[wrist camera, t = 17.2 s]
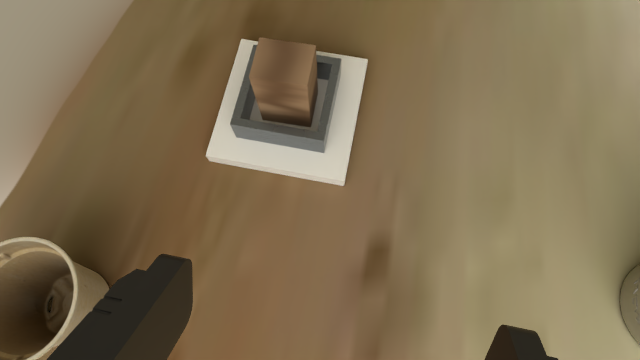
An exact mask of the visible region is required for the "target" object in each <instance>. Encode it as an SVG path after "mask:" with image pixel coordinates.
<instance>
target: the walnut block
mask: <svg viewBox="0 0 640 360" xmlns="http://www.w3.org/2000/svg"><path fill="white" fill-rule="evenodd" d="M249 79H250V82H251V85H252V88H253V91H254V95H255V98H256V101H257V104H258V107H259V110H260V113H261V116H262V119H263V120H267V121H273V122H279V123H286V124H292V125H298V126H305V127H311V124H312V119H313V115H314V110H315V105H316V100H317V95H318V82H317V58H316V45H310V44H303V43H296V42H289V41H282V40H275V39H268V38H261V37H259V41H258V44H257V48H256V52H255V55H254V59H253V63H252V67H251V70H250V74H249Z"/></svg>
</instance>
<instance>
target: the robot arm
mask: <svg viewBox="0 0 640 360" xmlns="http://www.w3.org/2000/svg"><path fill="white" fill-rule="evenodd" d="M192 304H193V292H192V262H191V260H190V259H186V258H181V257H176V256H171V255H167V254H161V255H159V256H158V257H157V258H156V260H155V261H154V262H153V263H152V264H151V266H150V267H149V268H148V269H147V270H146V271H144V270H139V269H136V270H134V271H133V272H131V273H129V274H127V275H126V276H124V277H122V278H121V279H119V280H117V282H116V283H115V284H114V285H113V286H112V287H111V288H110V289H109V290H108V292H107V293H106V294H105V295H104V298H103V299H100V301H99V302H98V303H97V304H96V305H95V306H94V307H93V310H92V311H91V312H89V313H88V314H87V315H86V316H85V317H84V318H83V320H82V321H81V322H80V323H79V324H78V325H77V326H76V327H75V328H74V330H73V331H72V332H71V333H70V334H69V335H68V336H67V337H66V339H65V340H64V341H63V342H62V343H61V344H60V345H59V346H58V347H57V349H56V350H55V351H54V352H53V353H52V354H51V355H50V356H49V358H48V359H47V360H167V358H168V356H169V355H170V353H171V351H172V350H173V348H174V346H175V344H176V343H177V341H178V339H179V338H180V336H181V334H182V332H183V331H184V329H185V327H186V325H187V323H188V321H189V318H190V315H191V311H192ZM620 305H621V312H622V315H623V318H624V322H625V324H626V326H627V328H628V330H629V331H630V333H631V335H632V336H633V337H634V339H635V340H636V341H637V342H638V344H639V345H640V265H638V266H636V267H635V268H634V269H633V270H632V271H631V272H630V273H629V274H628V275H627V277H626V279H625V280H624V282H623V285H622V288H621V294H620ZM485 360H558V359H557V358H554V357H549V356H547V355H546V352H545V350H544V348H543V345H542V343H541V340H540V338H539V336H538V334H537V333H536V332H535V331H532V330H527V329H522V328H517V327H513V326H508V325H501V326H500V327H499V329H498V331H497V333H496V335H495V337H494V340H493V342H492V344H491V346H490V349H489V351H488V353H487V355H486V358H485Z"/></svg>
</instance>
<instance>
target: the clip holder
mask: <svg viewBox="0 0 640 360" xmlns="http://www.w3.org/2000/svg"><path fill="white" fill-rule="evenodd" d="M257 44H258V41H251V40H245V39H241V42H240V45H239V49H238V52H237V55H236V58H235V62H234V65H233V68H232V71H231V75H230V78H229V81H228V84H227V88H226V91H225V94H224V98H223V101H222V104H221V107H220V111H219V114H218V117H217V120H216V124H215V127H214V130H213V133H212V137H211V140H210V143H209V146H208V150H207V153H206V157H207V158H208V160H209V161H212V162H217V163H222V164H228V165H233V166H239V167H244V168H249V169H255V170H260V171H266V172H271V173H276V174H282V175H287V176H293V177H298V178H303V179H309V180H314V181H320V182H325V183H330V184H336V185H341V186H344V183H345V178H346V173H347V168H348V162H349V157H350V152H351V147H352V142H353V136H354V131H355V126H356V121H357V115H358V110H359V105H360V100H361V95H362V89H363V84H364V79H365V74H366V68H367V62H368V59H363V58H357V57H351V56H345V55H338V54H332V53H326V52H320V51H316V58H317V82H318V95H317V100H316V105H315V110H314V115H313V119H312V124H311V127H305V126H298V125H292V124H286V123H279V122H273V121H267V120H263V119H262V116H261V113H260V110H259V107H258V104H257V101H256V98H255V95H254V91H253V88H252V85H251V82H250V79H249V74H250V70H251V67H252V63H253V59H254V55H255V52H256V48H257Z"/></svg>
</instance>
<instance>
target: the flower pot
mask: <svg viewBox="0 0 640 360" xmlns="http://www.w3.org/2000/svg"><path fill="white" fill-rule="evenodd" d="M108 290H109V287H108V285H107V283H106V282H105V280H104V279H103V278H102V277H101V276H100V275H99V274H98V273H96V272H94V271H92V270H90V269H88V268H86V267H83V266H81V265H79V264H77V263H75V262H73V261H72V260H71V258H70V257H69V255H68V254H67V253H66V252H65V251H64V250H63V249H62V248H60V247H59V246H58V245H56V244H54V243H52V242H51V241H48V240H45V239H42V238H37V237H18V238H12V239H8V240H5V241H2V242H0V360H36V359H38V358H40V357H41V356H42V355H44V354H45V353H46V352H48V351H49V350H50V349H51V348H52V347H55V346H58V345H60V344H61V343H62V342H63V341H64V340H65V339H66V337H67V336H68V335H69V334H70V333H71V332H72V331H73V330H74V328H75V327H76V326H77V325H78V324H79V323H80V322H81V321H82V320H83V318H84V317H85V316H86V315H87V314H88V313H89V312H91V311H92V310H93V307H94V306H95V305H96V304H97V303H98V302H99V301H100V299H103V298H104V295H105V294H106V293H107V292H108ZM51 298H53V300H52V306H51V312H49V310H48V303H49V300H50V299H51Z"/></svg>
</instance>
